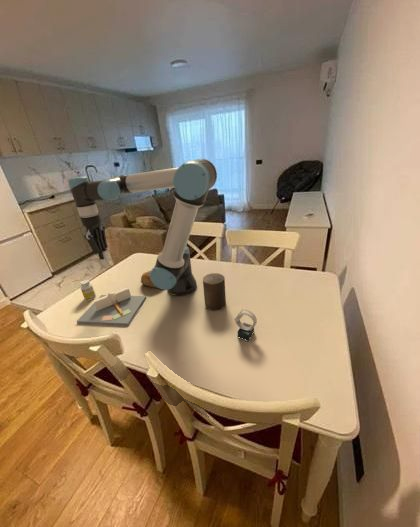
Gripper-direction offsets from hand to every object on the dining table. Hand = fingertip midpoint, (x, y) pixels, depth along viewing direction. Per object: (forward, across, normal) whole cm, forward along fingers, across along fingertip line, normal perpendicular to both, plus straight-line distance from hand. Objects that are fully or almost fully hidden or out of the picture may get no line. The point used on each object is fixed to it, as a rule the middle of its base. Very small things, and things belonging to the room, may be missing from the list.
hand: (105, 264), depth 112 cm
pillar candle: (+20, +4, +51) cm, 55 cm away
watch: (+21, +24, +64) cm, 72 cm away
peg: (+17, +10, +6) cm, 21 cm away
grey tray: (+19, +10, +4) cm, 22 cm away
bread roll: (+20, -12, +16) cm, 28 cm away
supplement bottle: (+19, 0, -14) cm, 24 cm away
